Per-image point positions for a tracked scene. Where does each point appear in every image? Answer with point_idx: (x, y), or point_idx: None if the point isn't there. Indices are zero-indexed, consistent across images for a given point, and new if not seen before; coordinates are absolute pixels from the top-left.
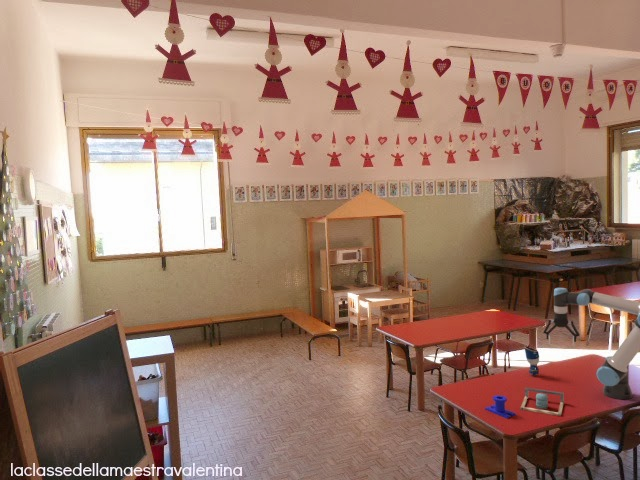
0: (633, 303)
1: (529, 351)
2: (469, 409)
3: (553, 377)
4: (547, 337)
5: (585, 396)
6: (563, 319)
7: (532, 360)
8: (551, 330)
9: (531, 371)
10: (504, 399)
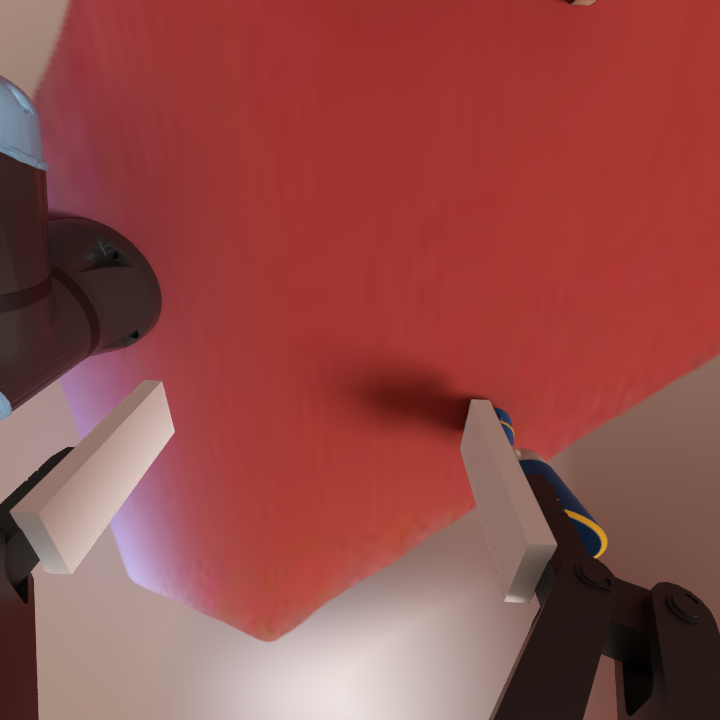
0: None
1: (567, 502)
2: None
3: (394, 418)
4: (547, 504)
5: (228, 195)
6: None
7: (522, 455)
8: (530, 690)
9: (504, 418)
10: None
